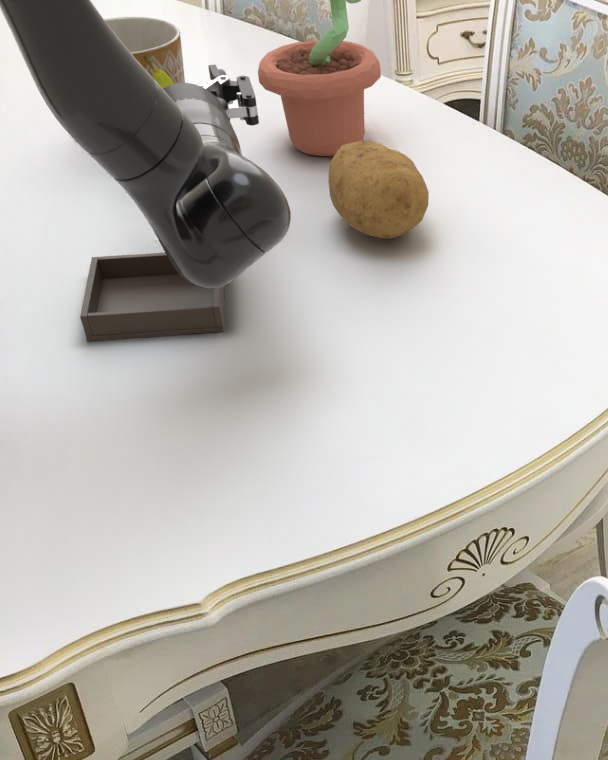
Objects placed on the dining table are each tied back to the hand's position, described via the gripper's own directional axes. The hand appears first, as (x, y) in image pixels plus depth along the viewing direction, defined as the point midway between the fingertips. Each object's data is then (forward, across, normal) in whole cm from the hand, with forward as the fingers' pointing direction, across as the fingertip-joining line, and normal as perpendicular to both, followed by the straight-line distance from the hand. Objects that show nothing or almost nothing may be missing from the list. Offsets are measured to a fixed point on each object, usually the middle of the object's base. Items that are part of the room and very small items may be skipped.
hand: (169, 79), depth 109 cm
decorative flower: (+13, -18, +14) cm, 26 cm away
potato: (-10, -18, +14) cm, 25 cm away
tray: (-19, +6, +13) cm, 24 cm away
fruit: (+10, 0, +13) cm, 16 cm away
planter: (+24, +2, +14) cm, 28 cm away
